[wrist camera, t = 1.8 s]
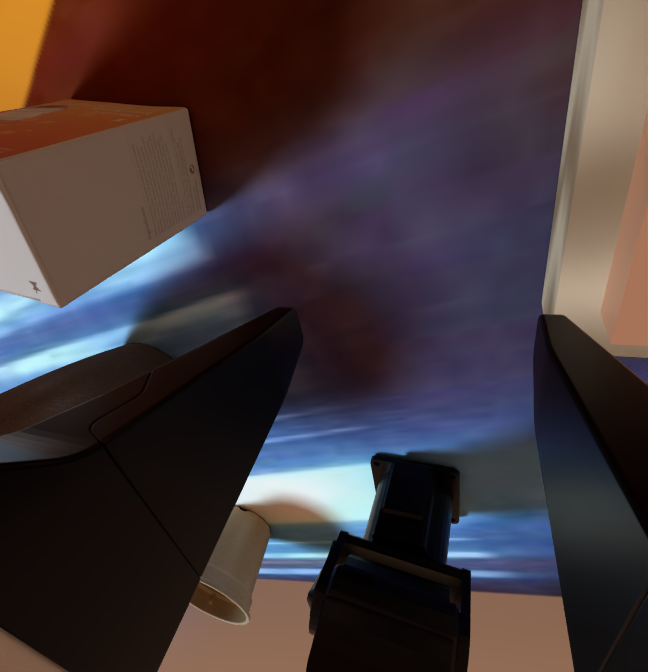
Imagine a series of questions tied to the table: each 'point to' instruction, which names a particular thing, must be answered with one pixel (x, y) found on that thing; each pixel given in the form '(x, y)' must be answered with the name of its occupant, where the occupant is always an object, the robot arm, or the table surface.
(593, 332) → the deck
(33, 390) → the plant pot
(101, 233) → the small box
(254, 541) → the flower pot
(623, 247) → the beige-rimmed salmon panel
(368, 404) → the table surface
